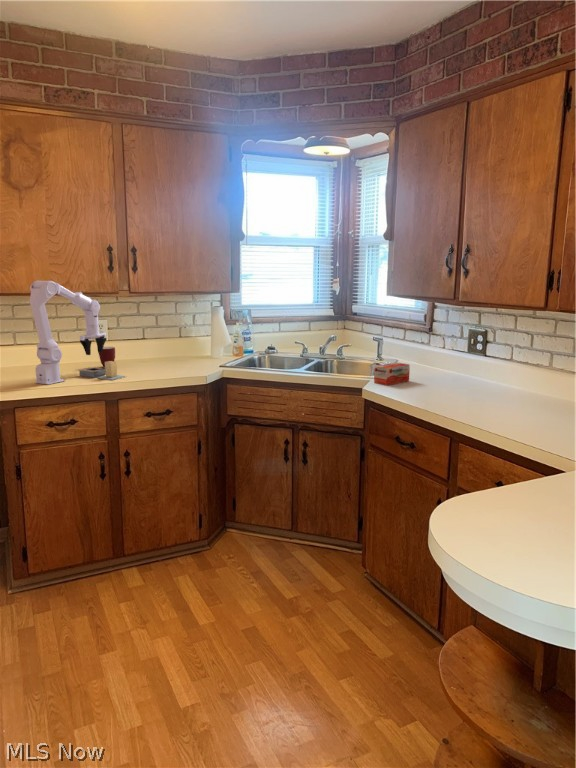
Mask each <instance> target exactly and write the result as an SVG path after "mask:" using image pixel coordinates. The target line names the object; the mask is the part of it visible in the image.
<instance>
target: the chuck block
mask: <svg viewBox="0 0 576 768" xmlns="http://www.w3.org/2000/svg"><path fill="white" fill-rule="evenodd" d="M78 373H79V377H80V376H81V377H80V378H88V377H89V378H90V379H97V378H98V377H100V376H102V377H103V376H104V375H106V373H105V368H104V367H95V366H93V367H88V368H84V369H79V370H78ZM96 377H97V378H96ZM89 378H88V379H89Z"/></svg>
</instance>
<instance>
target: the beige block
mask: <svg viewBox="0 0 576 768" xmlns="http://www.w3.org/2000/svg"><path fill="white" fill-rule="evenodd" d="M117 371H118V370H117V361H115V360H114V361H108V362H105V373H106V377H108V378H113V377H117V375H118V372H117Z"/></svg>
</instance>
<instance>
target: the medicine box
mask: <svg viewBox="0 0 576 768" xmlns="http://www.w3.org/2000/svg"><path fill="white" fill-rule="evenodd" d="M410 366H411V365H410V364H407V363H402V362H397V361H395V362H390V363H383V364H378V365H377V364H376V365H374V367H373V369H374V370H373V382H374V384H379V385H384V386H392V385H397V384H402V383H403V384H404V383H407V382H409V381H410V369H411V368H410Z"/></svg>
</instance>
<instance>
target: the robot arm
mask: <svg viewBox="0 0 576 768" xmlns="http://www.w3.org/2000/svg"><path fill="white" fill-rule="evenodd" d="M29 290H30V297H29V304H30V308H31V312H32V316H33V320H34V324H35V328H36V332H37V336H38V340H39V342H38V343H37V344H36V348H37V349H36V357H37V358H38V359H39V360H40V361H39V362H40V364H37V365H36V367H35V376H36V379H35V380H36V381H35V384H40V385H41V384H42V385H52V384H57V383H60V382H61V383H62V382H65V381H66V380H65V379H63V378H62V379H61V369H60V362H61V359H62V358H63V353H62V352H63V351H62V350H61V349H60V348H59V347H60V346H59V345H58V343H57V342H56V341H55V340H54V337H53V333H52V329H51V324H50V322H49V317H48V316H49V315H48V312H47V309H46V304H47V302H48V300H50V299H51V298H52V297H54V296H55V295H59V296H62V297H64V298H66V299H69V300H70V302H71V304H73V305H74V306H77V307H79V308H81V309H82V311H83V312H84V316H85V317H84V318H85V330H86V334H83V335H80V336H79V343H80V344H81V346H82V348H83V350H84V352H85V355H86V356H91V351H92V350H91V349H92V340H95V342H96V347H97V353H98V354H99V353H102V352H103V347H105V343H106V341H107V333H106V332H100V327H99V326H100V324H99V315H100V312H99V311H100V309H101V305H100V303H99V302H98V300H97V299H92V298H91V296H86V295H85V294H83V292H81V291H78V292H77V291H76V292H72V291H71V290H69V289H68V288H65V286H62V285H61V284H60V283H58V282H55V281H53V280H35V281H33V282H32V284H30V287H29Z"/></svg>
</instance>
